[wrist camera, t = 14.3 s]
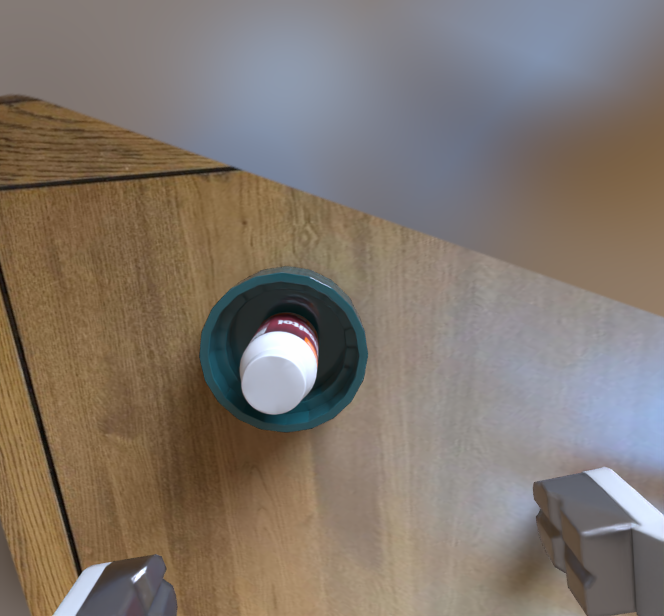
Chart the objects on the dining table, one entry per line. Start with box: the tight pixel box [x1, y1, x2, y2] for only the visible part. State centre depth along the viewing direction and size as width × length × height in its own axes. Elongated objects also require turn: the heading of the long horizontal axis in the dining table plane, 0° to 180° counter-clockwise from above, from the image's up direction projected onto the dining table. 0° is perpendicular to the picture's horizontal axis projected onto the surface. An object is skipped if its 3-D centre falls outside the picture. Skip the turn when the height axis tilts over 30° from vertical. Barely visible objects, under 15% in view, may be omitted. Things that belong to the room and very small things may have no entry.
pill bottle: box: [240, 312, 319, 415], centre depth 36 cm, size 6×6×11 cm
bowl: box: [199, 266, 368, 433], centre depth 39 cm, size 15×15×5 cm
